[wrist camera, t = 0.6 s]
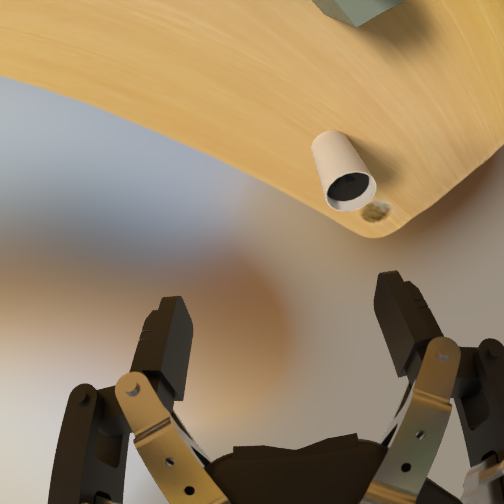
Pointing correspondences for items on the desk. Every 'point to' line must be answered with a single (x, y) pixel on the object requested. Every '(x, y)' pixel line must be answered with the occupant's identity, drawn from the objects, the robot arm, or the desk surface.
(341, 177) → the cream cup
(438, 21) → the desk surface
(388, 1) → the grey-green socket block
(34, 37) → the desk surface
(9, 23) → the desk surface
